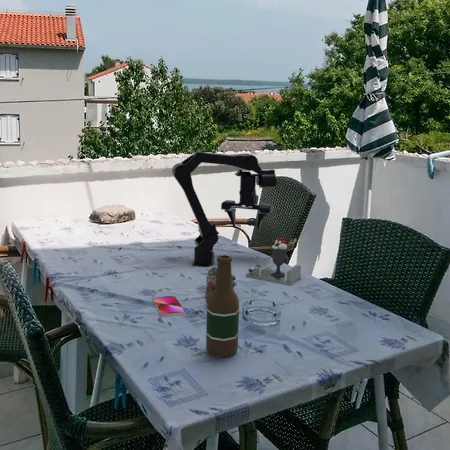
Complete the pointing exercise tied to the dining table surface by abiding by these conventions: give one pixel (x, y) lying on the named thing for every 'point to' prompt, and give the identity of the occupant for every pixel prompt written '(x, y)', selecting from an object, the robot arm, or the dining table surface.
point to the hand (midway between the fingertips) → (246, 229)
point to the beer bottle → (222, 313)
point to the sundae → (279, 255)
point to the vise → (266, 271)
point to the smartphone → (168, 306)
